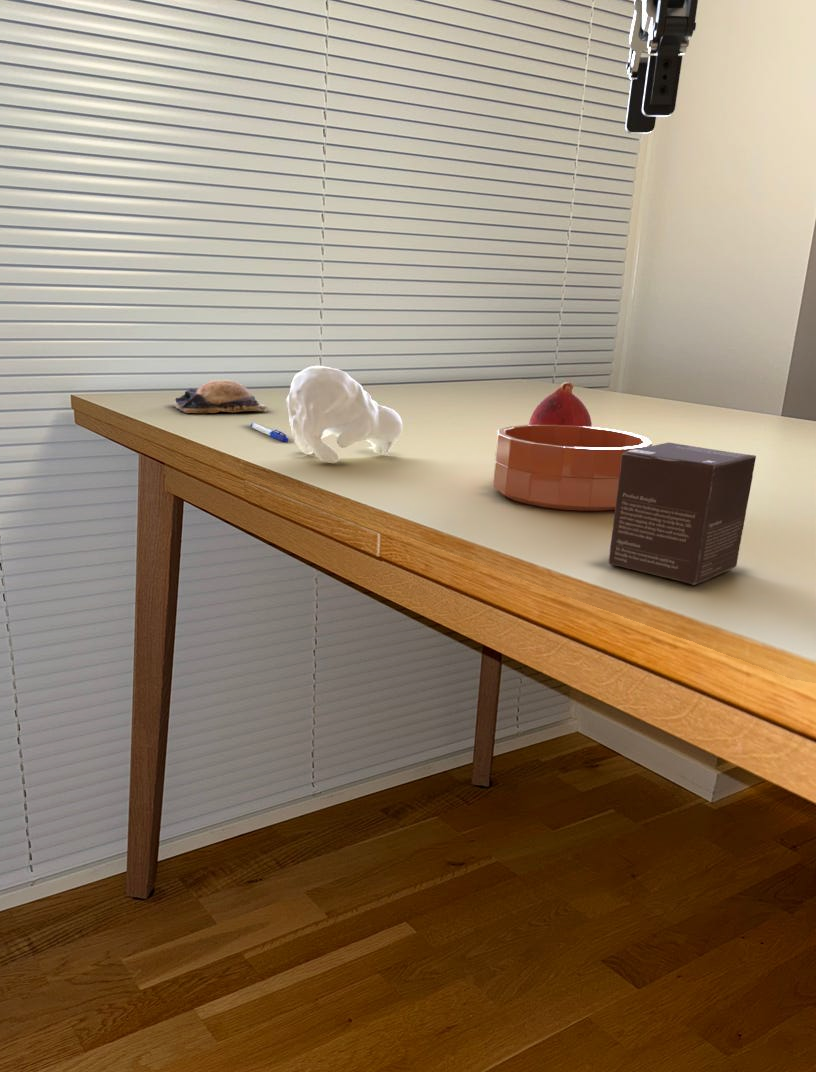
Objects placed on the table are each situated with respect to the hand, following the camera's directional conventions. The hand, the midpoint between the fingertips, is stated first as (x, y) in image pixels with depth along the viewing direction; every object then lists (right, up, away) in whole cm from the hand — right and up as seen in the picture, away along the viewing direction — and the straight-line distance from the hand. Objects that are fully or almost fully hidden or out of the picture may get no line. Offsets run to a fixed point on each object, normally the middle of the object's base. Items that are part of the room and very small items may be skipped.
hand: (647, 124), depth 73 cm
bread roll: (-38, -10, +49) cm, 63 cm away
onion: (-3, -23, +20) cm, 30 cm away
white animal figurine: (-23, -21, +21) cm, 38 cm away
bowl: (-4, -27, +8) cm, 28 cm away
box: (-2, -35, -11) cm, 37 cm away
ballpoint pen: (-31, -17, +33) cm, 48 cm away
